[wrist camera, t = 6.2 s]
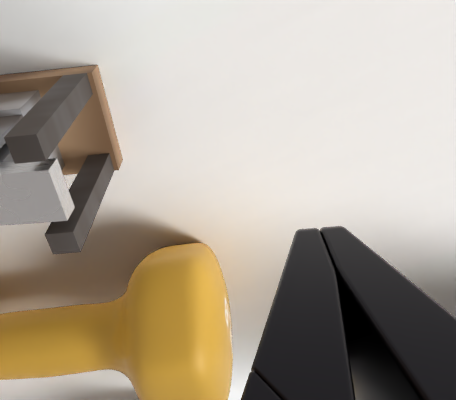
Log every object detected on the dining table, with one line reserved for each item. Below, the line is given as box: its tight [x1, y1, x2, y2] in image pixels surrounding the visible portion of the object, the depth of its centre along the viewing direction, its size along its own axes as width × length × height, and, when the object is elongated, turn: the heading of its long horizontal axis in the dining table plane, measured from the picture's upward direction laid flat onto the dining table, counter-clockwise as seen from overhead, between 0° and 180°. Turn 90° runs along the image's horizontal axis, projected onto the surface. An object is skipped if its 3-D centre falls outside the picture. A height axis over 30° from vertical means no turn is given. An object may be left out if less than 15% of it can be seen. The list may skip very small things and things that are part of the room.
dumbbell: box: [0, 243, 233, 400], centre depth 23 cm, size 19×9×8 cm, turn 97°
